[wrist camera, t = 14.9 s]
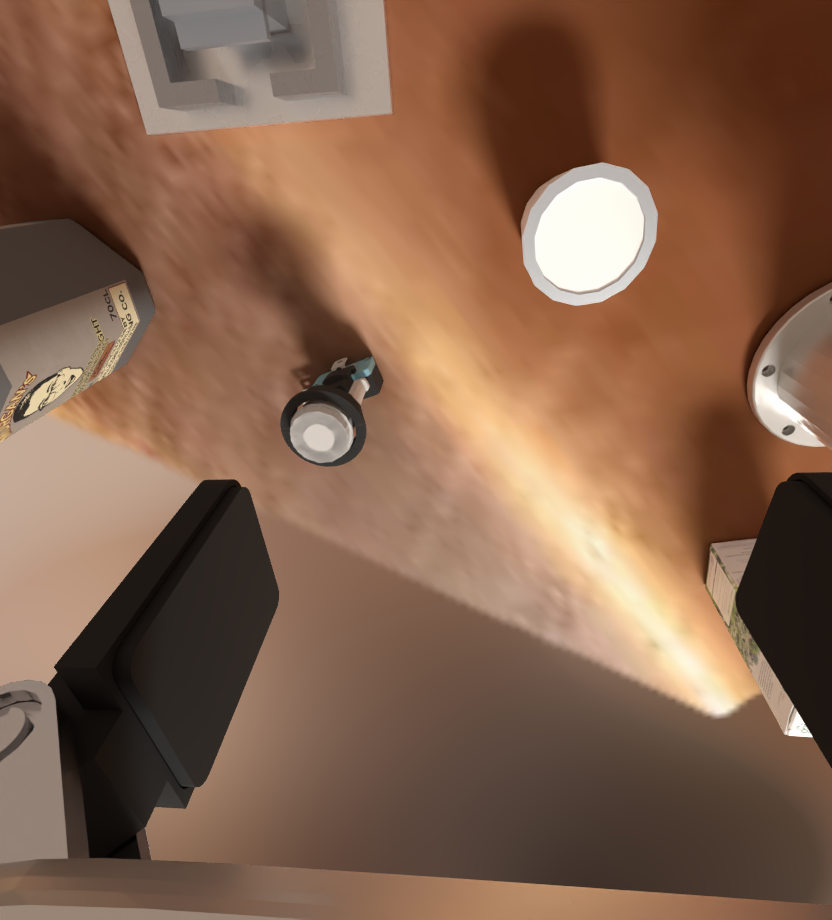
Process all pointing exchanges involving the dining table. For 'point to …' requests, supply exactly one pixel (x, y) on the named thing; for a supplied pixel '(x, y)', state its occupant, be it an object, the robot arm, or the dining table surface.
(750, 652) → the syrup box
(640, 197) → the white cylinder
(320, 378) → the push button
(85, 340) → the liquor
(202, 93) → the plate
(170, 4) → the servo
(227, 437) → the dining table surface
